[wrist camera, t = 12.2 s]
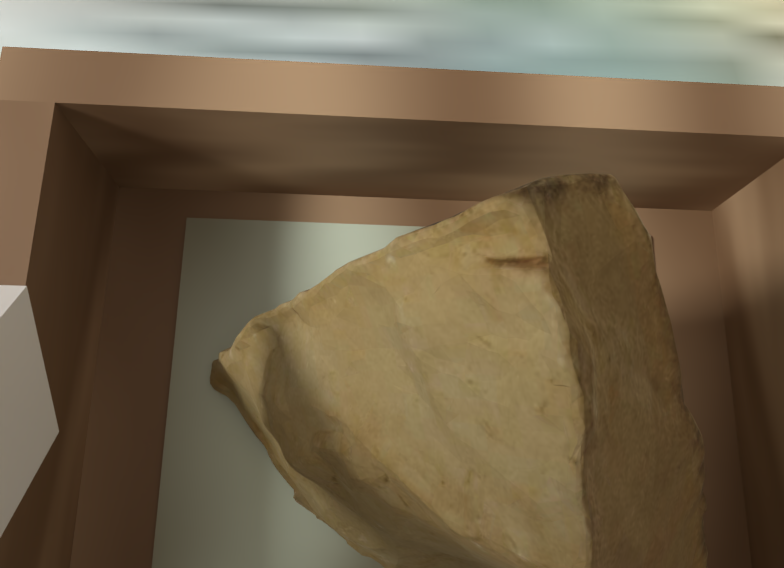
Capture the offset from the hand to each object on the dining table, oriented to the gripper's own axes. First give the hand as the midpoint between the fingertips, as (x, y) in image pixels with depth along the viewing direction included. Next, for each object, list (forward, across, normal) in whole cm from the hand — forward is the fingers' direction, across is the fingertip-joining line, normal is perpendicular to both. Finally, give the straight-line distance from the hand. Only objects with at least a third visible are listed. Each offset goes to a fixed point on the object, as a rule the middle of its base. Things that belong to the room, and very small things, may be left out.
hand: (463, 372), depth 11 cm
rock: (+3, 0, -6) cm, 7 cm away
